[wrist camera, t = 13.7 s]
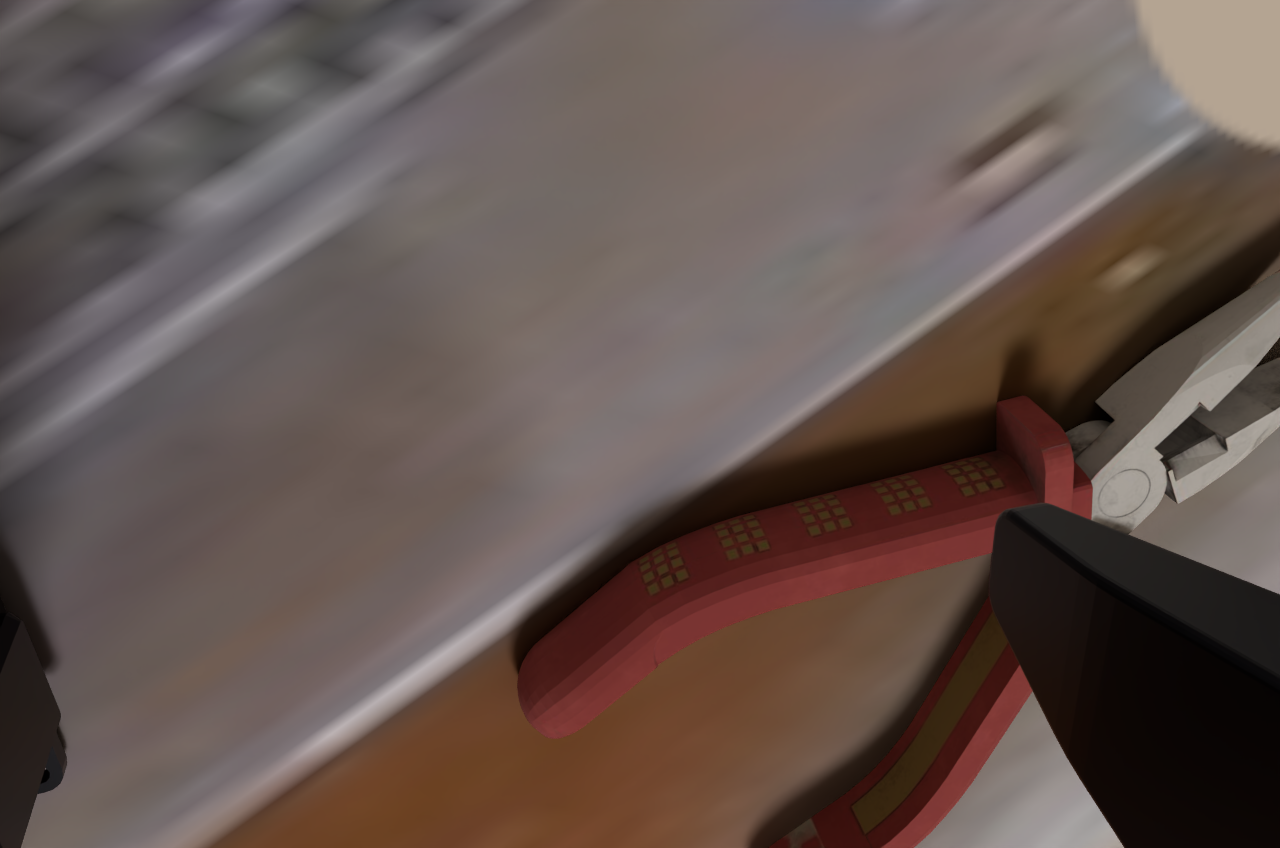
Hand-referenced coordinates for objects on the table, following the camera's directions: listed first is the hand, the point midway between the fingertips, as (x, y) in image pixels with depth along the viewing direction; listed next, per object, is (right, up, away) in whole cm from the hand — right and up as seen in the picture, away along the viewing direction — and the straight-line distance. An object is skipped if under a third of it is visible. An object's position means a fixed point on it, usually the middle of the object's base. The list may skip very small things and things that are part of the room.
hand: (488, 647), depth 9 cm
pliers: (+9, -2, +19) cm, 21 cm away
